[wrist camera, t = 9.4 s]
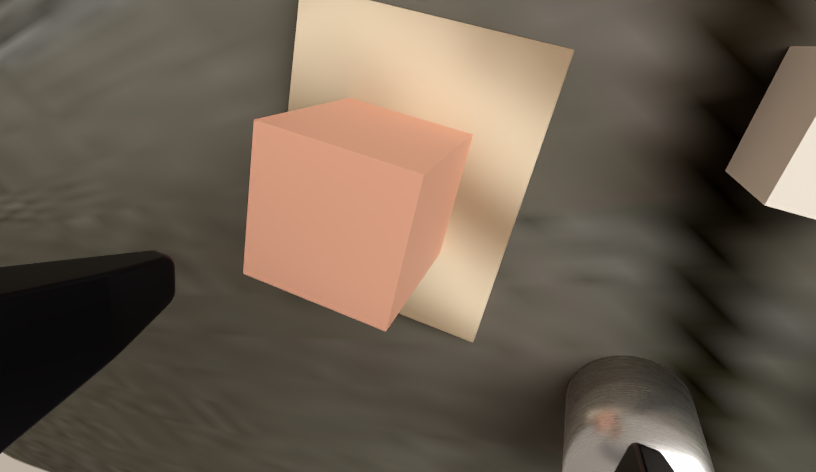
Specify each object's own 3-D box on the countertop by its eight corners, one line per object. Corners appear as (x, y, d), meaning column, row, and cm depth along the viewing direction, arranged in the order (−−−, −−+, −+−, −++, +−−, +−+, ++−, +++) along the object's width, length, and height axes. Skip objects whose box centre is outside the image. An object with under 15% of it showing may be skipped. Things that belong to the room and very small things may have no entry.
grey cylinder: (661, 468, 21) (681, 580, 16) (550, 422, 22) (541, 515, 18) (717, 384, 19) (758, 489, 14) (591, 338, 20) (592, 421, 15)
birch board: (478, 328, 21) (472, 342, 20) (286, 254, 23) (272, 263, 22) (574, 49, 16) (574, 50, 15) (316, -13, 18) (300, -16, 17)
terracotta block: (439, 253, 19) (386, 331, 14) (331, 214, 20) (243, 273, 15) (473, 134, 17) (423, 174, 12) (349, 97, 18) (253, 119, 13)
